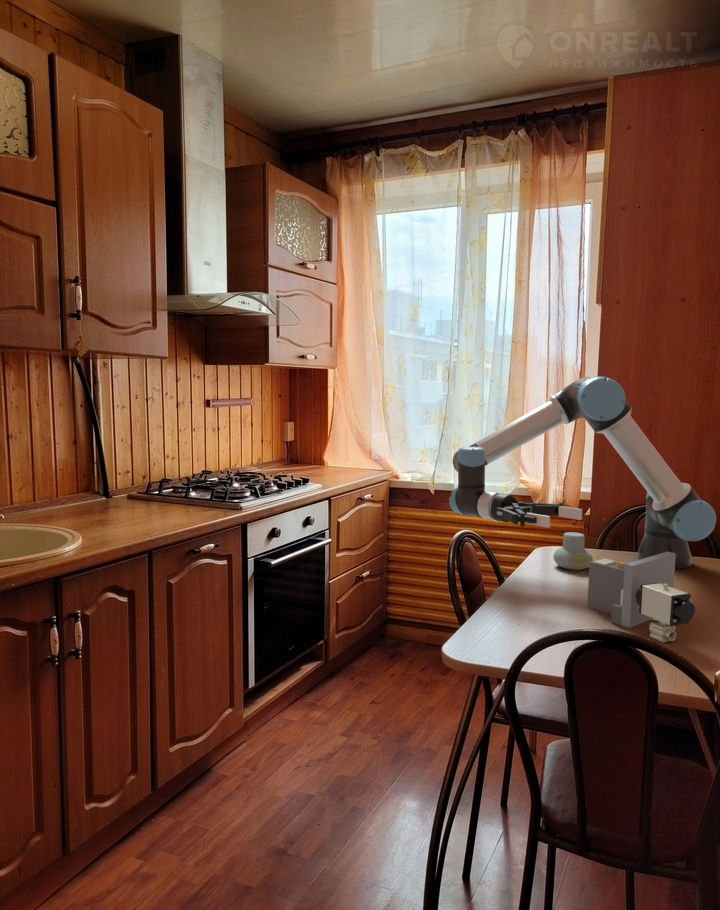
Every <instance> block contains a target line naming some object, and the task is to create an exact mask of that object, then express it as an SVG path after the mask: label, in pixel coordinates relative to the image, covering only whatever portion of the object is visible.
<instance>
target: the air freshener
mask: <svg viewBox="0 0 720 910" xmlns="http://www.w3.org/2000/svg"><path fill="white" fill-rule="evenodd" d="M585 538H586V537H585V534H584V533H580V532H576V531H575V532H574V531H572V532H571V531H570V532H569V531H568V532H567V531H566V532H564V533H563V537H562V540H563V541H562V547H559V548H558V549H556V550H555V552H554V553H553V561H554V562H555V563H556V564H557V565H558V566H559V567H560V568H563V569H565V570H569V571H577V572H579V571H582V570H585V569H587V568H588V567H589V566H590V562H593V561H594V558H593V555H592V554H591V552H590V551H589V550H587V549H586V548H585Z"/></svg>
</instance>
